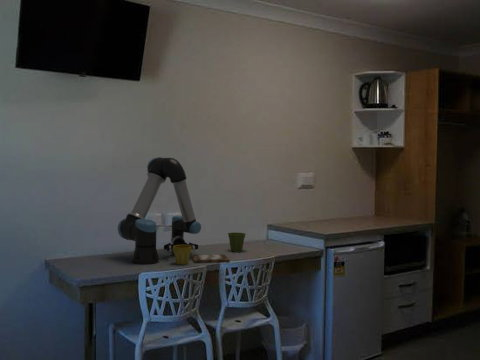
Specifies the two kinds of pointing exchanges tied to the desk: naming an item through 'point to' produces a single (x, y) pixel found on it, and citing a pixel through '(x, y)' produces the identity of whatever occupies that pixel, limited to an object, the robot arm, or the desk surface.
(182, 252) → the plant pot
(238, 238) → the plant pot
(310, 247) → the desk surface
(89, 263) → the desk surface
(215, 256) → the base plate
